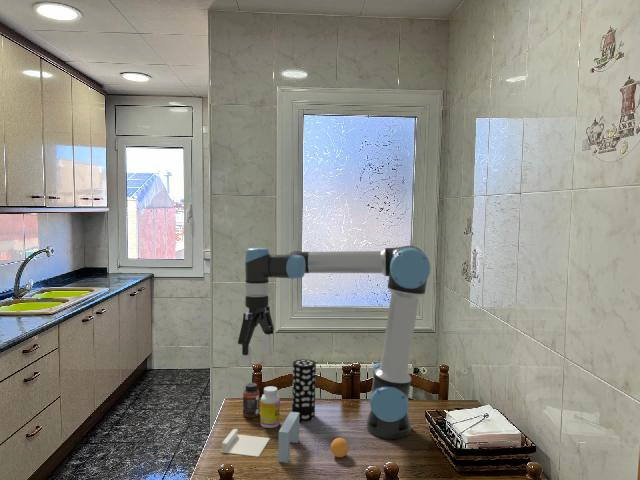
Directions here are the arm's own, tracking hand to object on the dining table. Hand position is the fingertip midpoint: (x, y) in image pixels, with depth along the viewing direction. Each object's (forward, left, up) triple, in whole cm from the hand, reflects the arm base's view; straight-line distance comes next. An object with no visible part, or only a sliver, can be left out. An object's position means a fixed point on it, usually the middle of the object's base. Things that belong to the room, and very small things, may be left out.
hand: (256, 358), depth 156 cm
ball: (-29, +8, -23) cm, 38 cm away
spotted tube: (-12, -17, -26) cm, 34 cm away
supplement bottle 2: (-2, -8, -26) cm, 27 cm away
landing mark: (+1, +8, -26) cm, 27 cm away
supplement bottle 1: (+7, -14, -26) cm, 30 cm away
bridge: (-13, +8, -26) cm, 30 cm away
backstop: (+6, +8, -26) cm, 28 cm away
